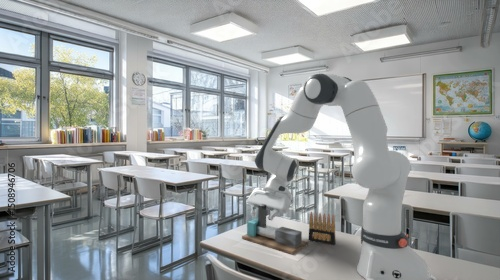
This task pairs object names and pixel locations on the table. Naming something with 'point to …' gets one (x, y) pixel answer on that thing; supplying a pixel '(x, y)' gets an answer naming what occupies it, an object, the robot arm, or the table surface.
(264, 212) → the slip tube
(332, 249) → the table surface
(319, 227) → the ammunition clip
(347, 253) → the table surface
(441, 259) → the table surface
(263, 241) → the board
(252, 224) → the socket block
